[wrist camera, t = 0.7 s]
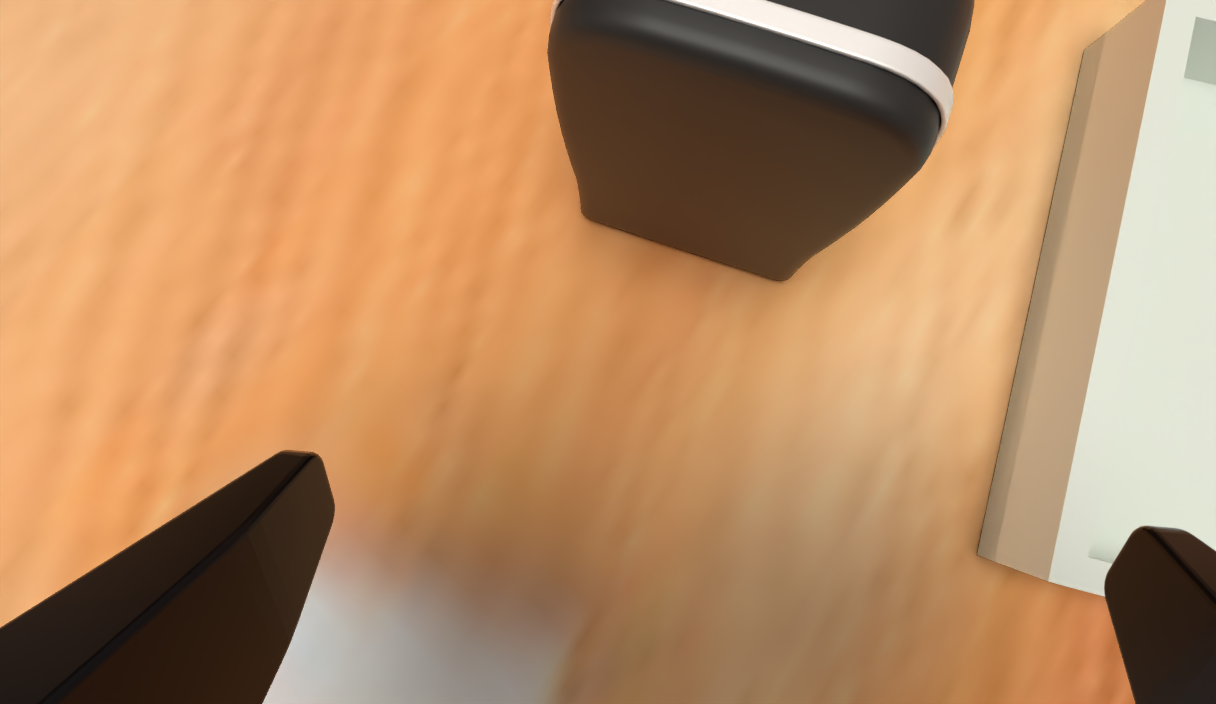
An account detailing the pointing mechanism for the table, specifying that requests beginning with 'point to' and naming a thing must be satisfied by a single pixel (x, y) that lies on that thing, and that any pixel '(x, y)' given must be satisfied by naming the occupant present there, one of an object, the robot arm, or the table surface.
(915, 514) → the table surface
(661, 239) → the battery charger
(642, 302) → the table surface
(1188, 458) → the tray
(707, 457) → the table surface
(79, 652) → the robot arm
